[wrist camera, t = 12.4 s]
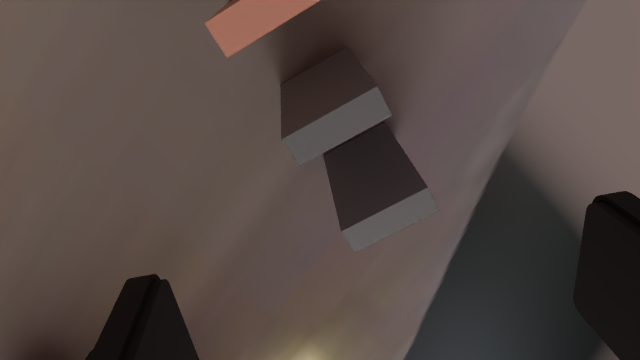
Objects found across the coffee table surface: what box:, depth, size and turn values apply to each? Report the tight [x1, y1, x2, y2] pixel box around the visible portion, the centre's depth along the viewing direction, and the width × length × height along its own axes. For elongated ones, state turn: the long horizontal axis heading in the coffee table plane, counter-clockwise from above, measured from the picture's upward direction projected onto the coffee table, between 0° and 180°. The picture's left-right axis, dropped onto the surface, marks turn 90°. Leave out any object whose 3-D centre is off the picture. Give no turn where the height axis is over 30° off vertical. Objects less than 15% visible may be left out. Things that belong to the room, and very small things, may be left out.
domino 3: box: [323, 122, 439, 252], centre depth 27 cm, size 2×5×10 cm, turn 119°
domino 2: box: [280, 47, 392, 166], centre depth 25 cm, size 2×5×10 cm, turn 119°
